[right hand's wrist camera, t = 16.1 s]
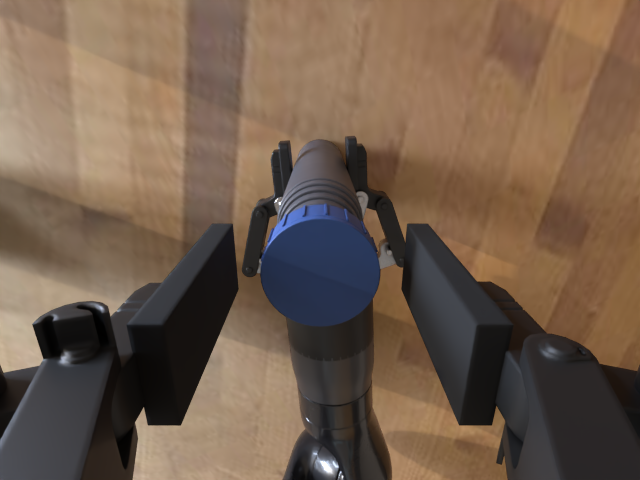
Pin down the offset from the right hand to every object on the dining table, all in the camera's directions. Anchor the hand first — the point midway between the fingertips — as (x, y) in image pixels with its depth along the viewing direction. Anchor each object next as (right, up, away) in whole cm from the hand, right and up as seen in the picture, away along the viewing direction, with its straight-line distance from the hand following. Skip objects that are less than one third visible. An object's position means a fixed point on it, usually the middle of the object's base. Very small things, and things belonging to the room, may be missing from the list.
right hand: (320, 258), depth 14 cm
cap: (0, 0, -1) cm, 1 cm away
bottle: (0, +8, +20) cm, 22 cm away
